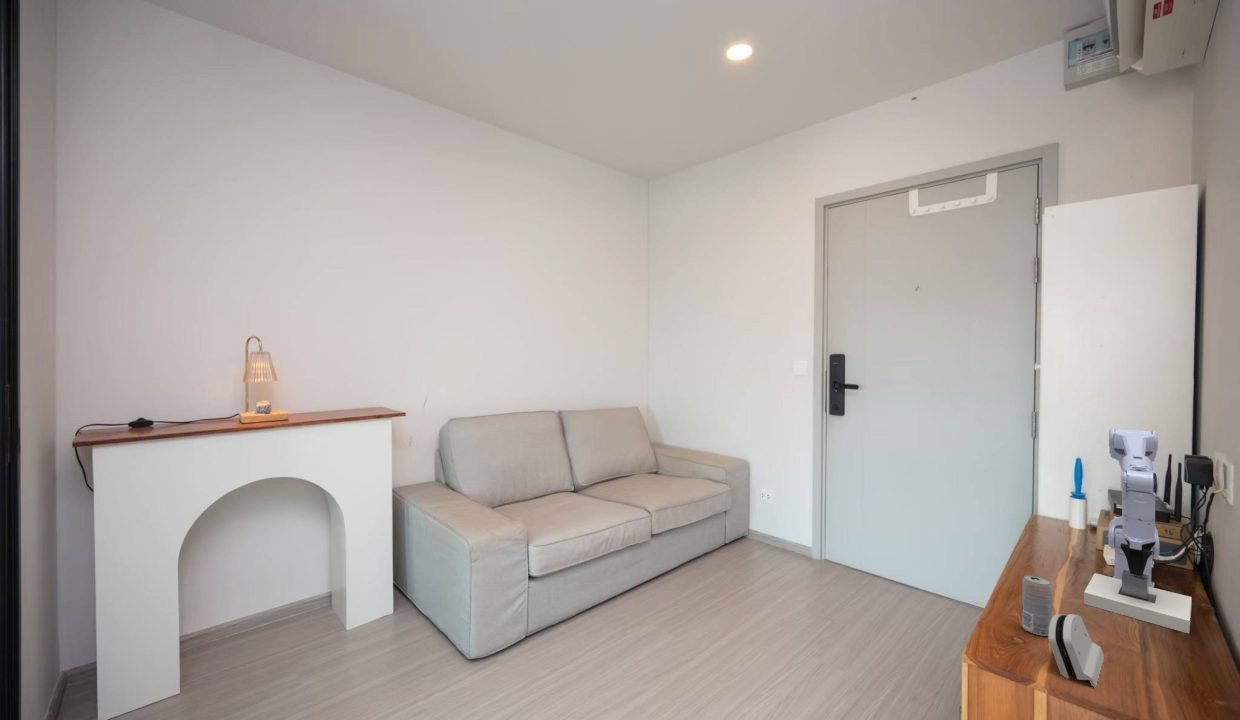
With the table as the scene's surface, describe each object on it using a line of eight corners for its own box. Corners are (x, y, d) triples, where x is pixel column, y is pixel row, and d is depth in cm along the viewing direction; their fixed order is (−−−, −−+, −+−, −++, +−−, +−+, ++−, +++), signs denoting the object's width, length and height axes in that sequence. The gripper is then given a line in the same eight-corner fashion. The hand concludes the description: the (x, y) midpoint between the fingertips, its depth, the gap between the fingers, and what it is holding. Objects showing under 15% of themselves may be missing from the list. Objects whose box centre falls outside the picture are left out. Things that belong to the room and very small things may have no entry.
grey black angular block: (1096, 689, 96) (1073, 633, 98) (1065, 686, 99) (1043, 632, 101) (1104, 655, 107) (1083, 605, 109) (1076, 653, 110) (1056, 605, 113)
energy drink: (1045, 627, 118) (1045, 576, 118) (1056, 639, 113) (1057, 586, 113) (1017, 622, 120) (1018, 573, 119) (1027, 634, 115) (1028, 582, 114)
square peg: (1123, 599, 132) (1123, 569, 131) (1148, 606, 128) (1148, 575, 128) (1121, 605, 129) (1121, 574, 129) (1146, 612, 125) (1147, 580, 125)
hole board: (1094, 583, 141) (1094, 573, 141) (1191, 608, 127) (1191, 597, 127) (1083, 603, 129) (1084, 592, 129) (1189, 633, 115) (1189, 620, 115)
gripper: (1119, 508, 136) (1119, 558, 136) (1113, 519, 126) (1112, 573, 126) (1158, 515, 130) (1157, 566, 130) (1153, 527, 121) (1152, 582, 121)
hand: (1137, 570), depth 128 cm, fingers open, 7 cm apart
